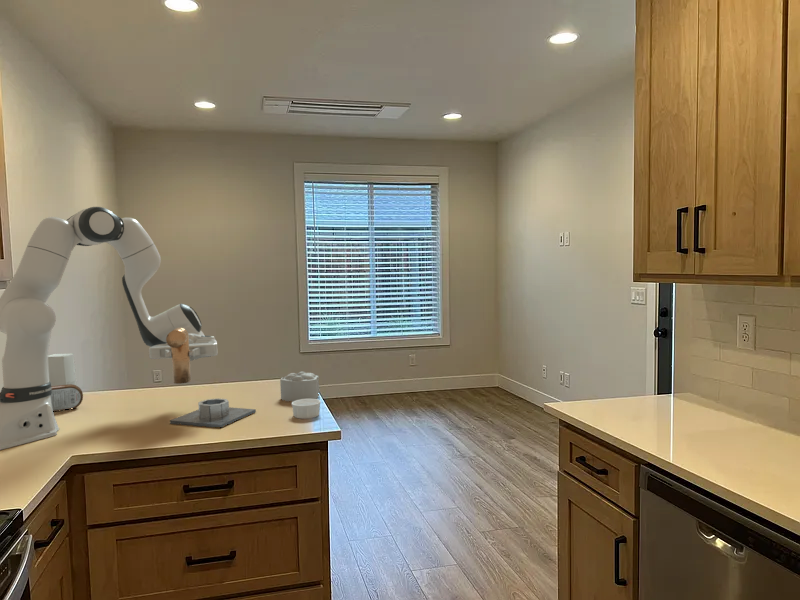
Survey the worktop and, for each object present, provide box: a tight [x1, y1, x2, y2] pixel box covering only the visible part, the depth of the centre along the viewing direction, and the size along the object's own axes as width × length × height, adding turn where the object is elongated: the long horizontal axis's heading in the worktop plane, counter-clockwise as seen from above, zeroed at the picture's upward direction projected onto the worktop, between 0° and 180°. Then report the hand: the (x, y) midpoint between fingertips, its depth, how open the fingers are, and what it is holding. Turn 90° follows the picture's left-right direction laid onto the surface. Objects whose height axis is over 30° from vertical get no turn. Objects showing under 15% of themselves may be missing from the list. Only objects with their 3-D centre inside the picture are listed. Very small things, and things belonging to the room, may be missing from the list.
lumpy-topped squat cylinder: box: [279, 371, 320, 403], centre depth 204 cm, size 10×13×9 cm
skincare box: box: [48, 353, 78, 386], centre depth 214 cm, size 8×7×16 cm
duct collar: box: [169, 398, 257, 428], centre depth 181 cm, size 18×18×5 cm
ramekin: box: [290, 398, 321, 420], centre depth 181 cm, size 9×9×4 cm
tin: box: [51, 384, 84, 412], centre depth 194 cm, size 15×3×8 cm, turn 123°
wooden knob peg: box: [166, 328, 192, 385], centre depth 175 cm, size 10×5×16 cm, turn 11°
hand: (180, 354), depth 176 cm, fingers closed on wooden knob peg, 5 cm apart
